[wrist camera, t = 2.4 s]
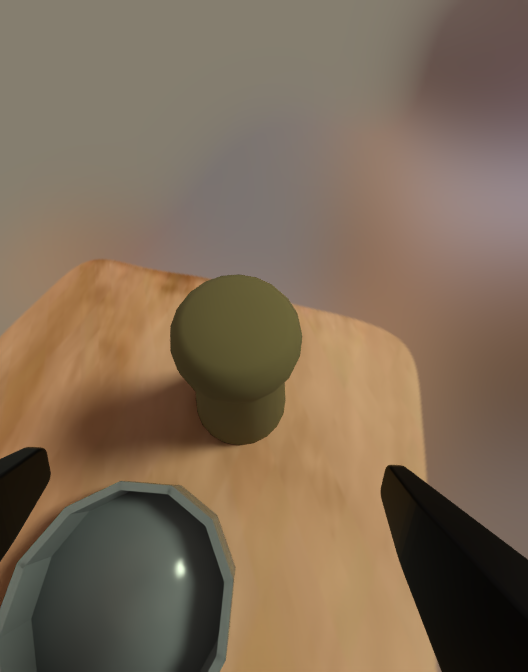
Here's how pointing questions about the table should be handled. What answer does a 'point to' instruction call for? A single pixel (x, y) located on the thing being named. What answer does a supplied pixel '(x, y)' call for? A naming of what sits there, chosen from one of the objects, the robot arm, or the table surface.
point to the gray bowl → (122, 587)
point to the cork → (237, 354)
